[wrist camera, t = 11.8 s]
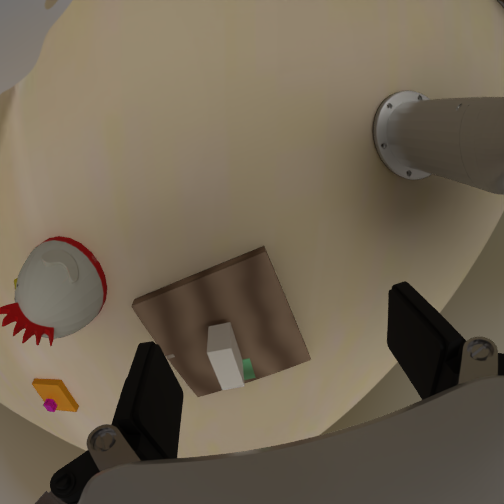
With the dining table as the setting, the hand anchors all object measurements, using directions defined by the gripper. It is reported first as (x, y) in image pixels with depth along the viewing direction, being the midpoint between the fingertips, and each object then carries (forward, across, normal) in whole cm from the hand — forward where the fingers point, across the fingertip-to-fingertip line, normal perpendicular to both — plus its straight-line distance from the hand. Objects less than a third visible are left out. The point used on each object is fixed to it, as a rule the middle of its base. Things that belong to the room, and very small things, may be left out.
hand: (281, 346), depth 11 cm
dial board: (+28, +7, +18) cm, 35 cm away
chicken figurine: (+29, +29, +5) cm, 41 cm away
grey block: (+26, +7, +21) cm, 34 cm away
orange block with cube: (+29, +47, +28) cm, 62 cm away
